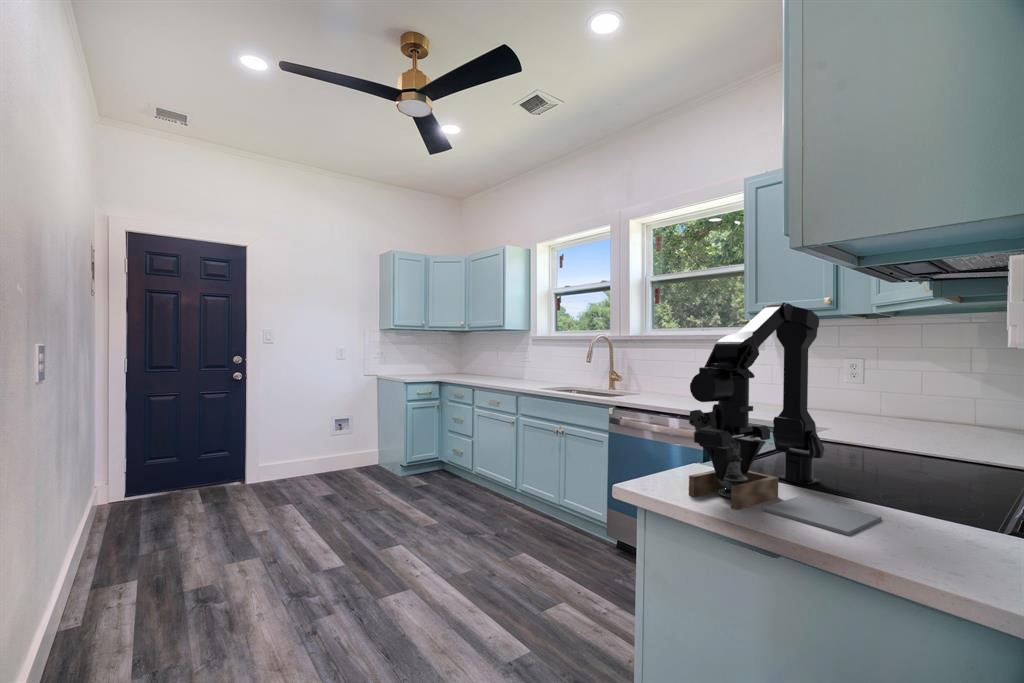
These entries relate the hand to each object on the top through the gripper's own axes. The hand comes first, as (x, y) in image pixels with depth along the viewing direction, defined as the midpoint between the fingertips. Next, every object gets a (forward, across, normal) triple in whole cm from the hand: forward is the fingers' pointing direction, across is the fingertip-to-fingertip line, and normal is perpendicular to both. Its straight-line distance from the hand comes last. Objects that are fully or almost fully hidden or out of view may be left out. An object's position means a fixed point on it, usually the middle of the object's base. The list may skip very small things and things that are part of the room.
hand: (732, 476), depth 98 cm
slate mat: (+4, -4, +15) cm, 16 cm away
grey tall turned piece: (+4, 0, 0) cm, 4 cm away
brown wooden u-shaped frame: (+4, 0, 0) cm, 4 cm away
